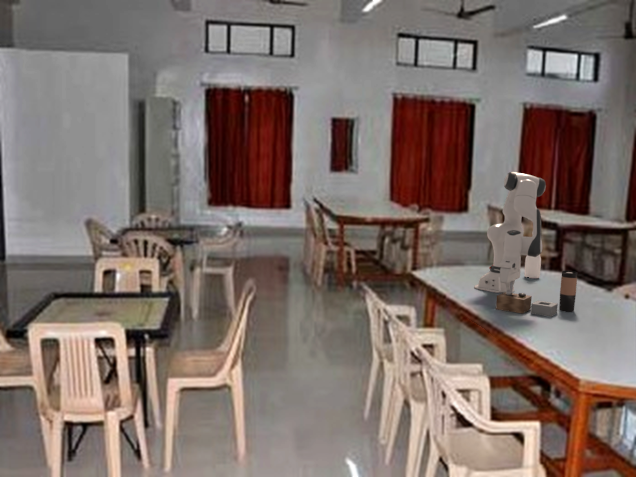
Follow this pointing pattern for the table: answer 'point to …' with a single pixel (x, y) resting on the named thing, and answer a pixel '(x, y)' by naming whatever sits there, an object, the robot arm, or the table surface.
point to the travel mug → (568, 291)
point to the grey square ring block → (544, 308)
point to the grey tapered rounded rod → (509, 292)
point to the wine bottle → (532, 266)
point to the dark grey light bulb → (522, 295)
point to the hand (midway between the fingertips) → (509, 289)
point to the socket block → (513, 303)
